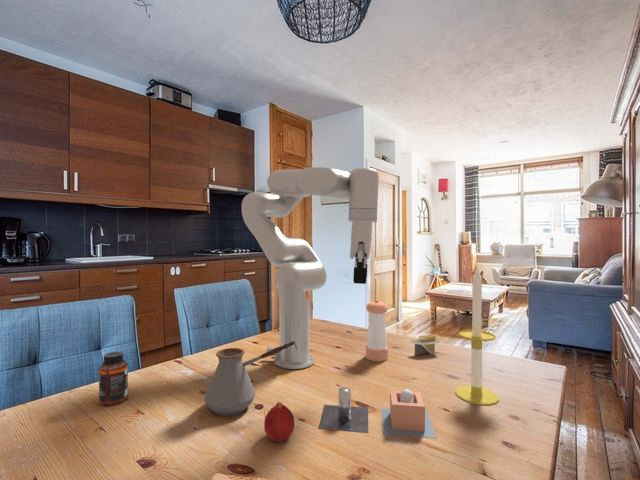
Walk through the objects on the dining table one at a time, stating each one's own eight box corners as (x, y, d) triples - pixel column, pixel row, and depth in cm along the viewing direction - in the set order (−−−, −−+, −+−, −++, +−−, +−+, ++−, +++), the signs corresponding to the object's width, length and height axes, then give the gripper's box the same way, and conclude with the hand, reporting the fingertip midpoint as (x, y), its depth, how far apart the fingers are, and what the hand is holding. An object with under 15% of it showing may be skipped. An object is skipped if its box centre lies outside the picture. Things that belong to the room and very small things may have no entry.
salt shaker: (391, 356, 113) (391, 299, 113) (382, 363, 107) (383, 302, 107) (371, 352, 117) (371, 297, 117) (361, 358, 111) (362, 300, 111)
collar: (392, 429, 68) (392, 404, 68) (390, 413, 75) (390, 390, 75) (424, 431, 68) (425, 406, 67) (420, 415, 74) (420, 392, 74)
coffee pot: (198, 421, 73) (198, 351, 73) (210, 396, 84) (210, 336, 84) (298, 416, 75) (298, 349, 75) (296, 393, 86) (296, 334, 86)
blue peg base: (383, 438, 67) (383, 399, 67) (381, 413, 77) (381, 378, 77) (436, 443, 65) (436, 402, 65) (427, 416, 75) (427, 381, 75)
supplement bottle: (133, 397, 84) (133, 351, 84) (111, 408, 79) (111, 359, 79) (115, 393, 86) (115, 348, 86) (93, 404, 81) (92, 356, 80)
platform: (460, 358, 113) (460, 338, 113) (413, 364, 107) (413, 344, 107) (436, 347, 124) (437, 329, 124) (393, 352, 118) (393, 333, 118)
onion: (265, 434, 68) (265, 394, 68) (294, 433, 69) (294, 393, 69) (262, 453, 62) (262, 409, 62) (294, 451, 63) (294, 408, 63)
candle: (470, 406, 80) (470, 268, 79) (447, 388, 89) (448, 264, 89) (508, 403, 81) (509, 267, 81) (482, 385, 91) (482, 264, 91)
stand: (318, 433, 69) (318, 399, 68) (324, 409, 78) (324, 378, 78) (368, 437, 67) (368, 402, 67) (368, 412, 77) (368, 381, 77)
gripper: (350, 217, 99) (348, 275, 100) (346, 214, 82) (343, 284, 83) (376, 217, 98) (374, 276, 99) (377, 215, 81) (374, 286, 81)
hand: (360, 280), depth 91 cm, fingers open, 9 cm apart
